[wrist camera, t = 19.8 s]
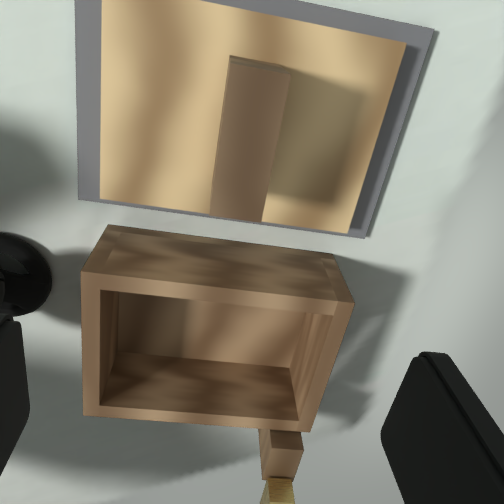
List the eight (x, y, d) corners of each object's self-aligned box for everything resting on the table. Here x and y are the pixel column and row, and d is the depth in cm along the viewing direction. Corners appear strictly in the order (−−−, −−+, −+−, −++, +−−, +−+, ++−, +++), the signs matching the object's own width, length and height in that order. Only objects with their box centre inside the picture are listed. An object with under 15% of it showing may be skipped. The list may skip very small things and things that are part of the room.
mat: (80, 196, 31) (78, 199, 31) (76, -45, 24) (73, -47, 24) (362, 235, 34) (364, 238, 34) (430, 28, 27) (434, 28, 27)
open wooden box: (105, 386, 40) (78, 469, 33) (108, 224, 33) (72, 284, 25) (288, 402, 43) (301, 482, 35) (332, 253, 35) (361, 316, 27)
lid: (105, 191, 31) (72, 237, 24) (108, -18, 25) (65, -33, 18) (342, 225, 33) (371, 275, 26) (398, 41, 27) (453, 48, 20)
